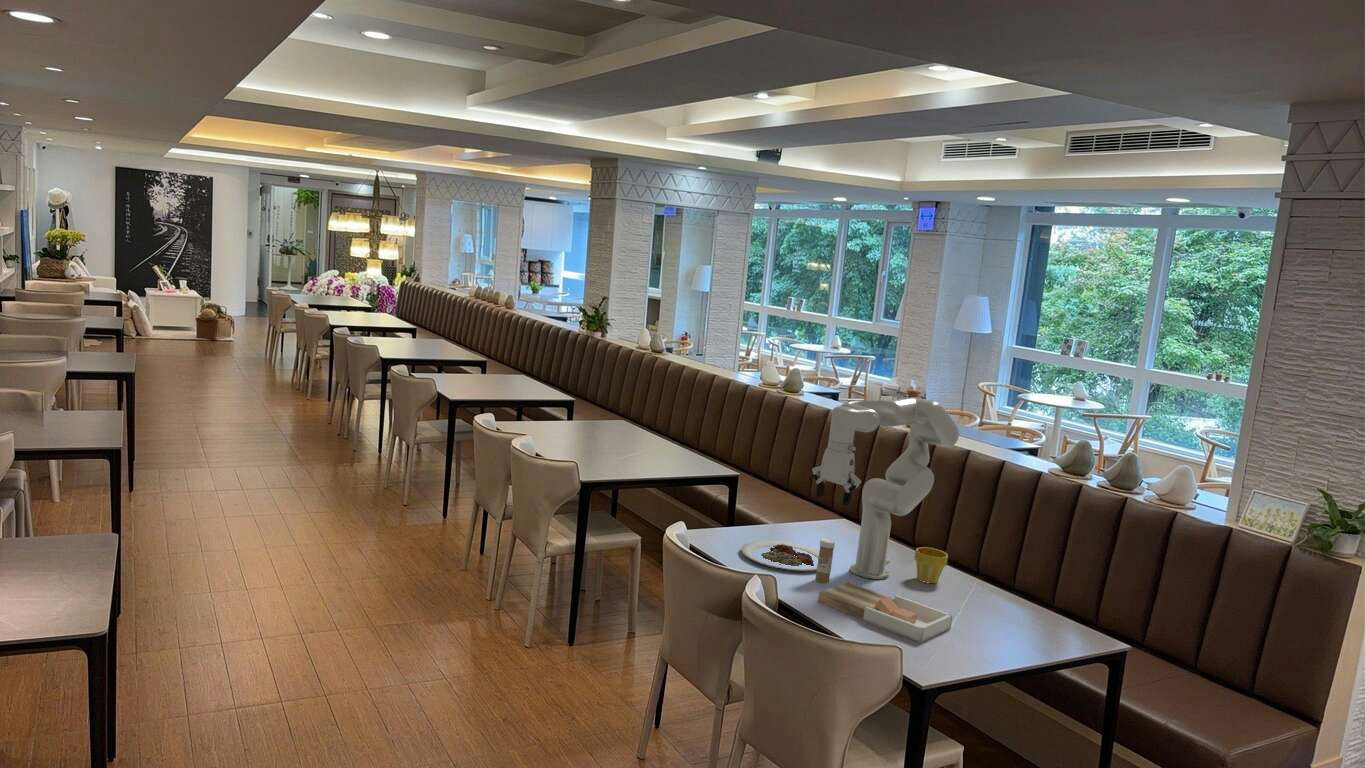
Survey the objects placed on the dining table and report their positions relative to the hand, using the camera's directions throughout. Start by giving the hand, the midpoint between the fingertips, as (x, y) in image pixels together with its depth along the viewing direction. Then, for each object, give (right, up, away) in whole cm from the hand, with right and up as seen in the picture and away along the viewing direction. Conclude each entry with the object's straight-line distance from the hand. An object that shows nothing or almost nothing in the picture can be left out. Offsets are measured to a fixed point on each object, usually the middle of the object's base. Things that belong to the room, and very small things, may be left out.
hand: (832, 500), depth 294 cm
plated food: (-12, -23, +22) cm, 34 cm away
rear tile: (+12, -29, -22) cm, 38 cm away
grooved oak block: (+4, -29, -15) cm, 33 cm away
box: (+17, -32, -26) cm, 45 cm away
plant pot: (+34, -29, +16) cm, 47 cm away
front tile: (+16, -29, -26) cm, 42 cm away
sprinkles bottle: (-3, -26, +3) cm, 27 cm away
